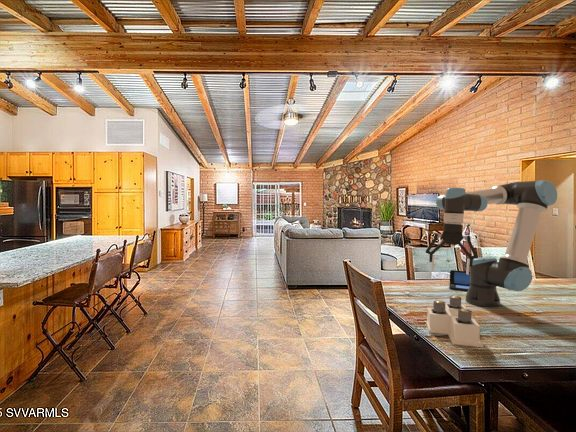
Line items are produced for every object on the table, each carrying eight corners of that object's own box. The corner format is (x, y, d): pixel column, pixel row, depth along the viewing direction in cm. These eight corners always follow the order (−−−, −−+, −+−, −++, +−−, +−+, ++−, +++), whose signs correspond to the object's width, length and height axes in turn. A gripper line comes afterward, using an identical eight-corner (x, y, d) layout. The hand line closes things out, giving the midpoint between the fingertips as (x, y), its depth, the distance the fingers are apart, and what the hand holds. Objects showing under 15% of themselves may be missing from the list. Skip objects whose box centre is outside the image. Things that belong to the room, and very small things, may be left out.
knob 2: (469, 324, 120) (470, 308, 120) (472, 329, 116) (473, 312, 116) (456, 323, 122) (457, 307, 121) (459, 327, 117) (459, 311, 117)
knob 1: (459, 309, 136) (460, 295, 136) (462, 313, 132) (462, 298, 132) (448, 308, 138) (448, 295, 138) (450, 312, 134) (450, 298, 133)
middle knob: (444, 315, 131) (444, 300, 130) (446, 318, 126) (446, 303, 126) (432, 314, 132) (432, 299, 132) (434, 317, 128) (434, 302, 127)
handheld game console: (449, 289, 186) (449, 274, 185) (449, 284, 198) (449, 269, 197) (480, 293, 178) (480, 277, 178) (478, 287, 190) (479, 272, 190)
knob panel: (465, 320, 139) (465, 303, 138) (483, 347, 113) (483, 327, 112) (424, 316, 144) (424, 300, 143) (432, 341, 118) (432, 322, 118)
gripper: (421, 221, 139) (418, 269, 140) (488, 225, 128) (484, 277, 129) (422, 221, 146) (419, 266, 146) (485, 225, 135) (481, 274, 135)
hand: (449, 272), depth 137 cm, fingers open, 13 cm apart
